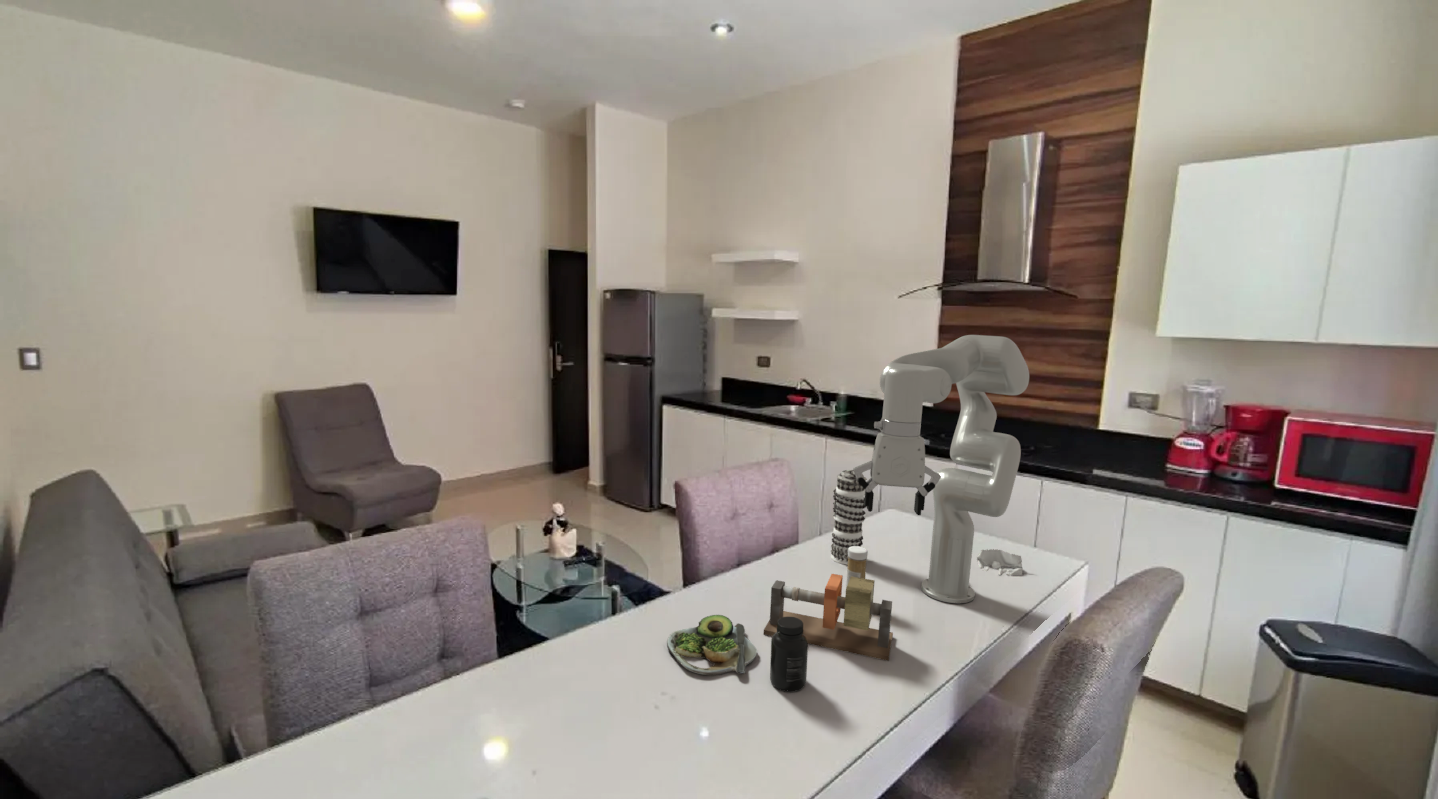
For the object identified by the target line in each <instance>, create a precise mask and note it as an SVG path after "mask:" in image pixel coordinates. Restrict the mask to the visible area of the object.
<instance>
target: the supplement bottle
mask: <svg viewBox="0 0 1438 799" xmlns="http://www.w3.org/2000/svg"><path fill="white" fill-rule="evenodd" d="M770 642H771V643H770V665H769V666H770V669H769V680H770V683H771V685H772V686H773V687H774V688H776V689H778V690H780V691H782V692H787V693H788V692H790V693H791V692H792V693H794V692H798V691H800V690H802V689H803V688H804V687H806V684H807V677H808V676H807V675H808V674H807V673H808V657H809V656H808V655H809V654H808V653H809V652H808V651H809V644H808V640H807V638H806V636H805V635H804V634H803V622H802V621H801V620H800V619H798V618H796V617H788V616H787V617H782V618H780V619H779V620H778V622H777V632H776V633H775V634H774V635H773V636H771V639H770Z"/></svg>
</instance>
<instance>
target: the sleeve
mask: <svg viewBox="0 0 1438 799" xmlns="http://www.w3.org/2000/svg"><path fill="white" fill-rule="evenodd" d="M874 592H875V579H874V580H873V579H870V578H865V579H864V578H858V577H852V576H851V577H850V580H849V582H848V585H847V588H846V587H845V596H844V597H845V609H843V610H844V613H843V623H844V625H843V626H847V627H852V628H857V629H862V630H867V631H868V629H869V628H870V624H871V620H872V618H873V615H872V614H870V607H871V602H873V603H874Z"/></svg>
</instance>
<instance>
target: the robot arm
mask: <svg viewBox="0 0 1438 799" xmlns="http://www.w3.org/2000/svg"><path fill="white" fill-rule="evenodd" d="M1024 358H1025V357H1024V356H1023V354H1022V352H1021V350H1020V349H1019V347H1018V345H1017V344H1016V343H1015V342H1014V341H1013V340H1012V339H1011V338H1009V337H1006V336H1002V335H1001V336H998V335H985V334H984V335H982V334H980V335H979V334H968V335H967V334H966V335H963V336H961V337H959V338H957V339H955V340H952V342H949V343H948V344H946V345H943V347H940V348H935V349H934V348H933V349H929V350H924V351H918V352H913V353H909V354H905V355H901V356H899V357H897V358H895V359H894V360H892V361H890V362H889V363H888V364H887V365H886V366H885V367H884V368H883V370H882V371H881V373H880V377H879V388H880V389H881V391H882V393H883V406H882V417H881V419H880V421H874V423H873V427H874V429H877V430H880V432H879V433H877V435H876V439H875V441H874V445H873V451H872V457H871V460H869V461H867V462H864V463H863V464H861V465H858V466H855V467H853V469H852V470H853V471H854V474H855V476H856V478H857V480H858V482H859V484H860V485H861V486H862V487H863V488H864V489H865V495H864V506H867V507H866V509H867V511H868V512H869V513H870V512H873V507H874V497H875V495H874V491H873V490H874V489H876V487H877V486H878V485H879V486H884V487H885V486H886V487H897V488H898V487H899V488H912V489H913V488H916V489H917V491H916V493H915V496H914V505H913V510H914V513H915V515H917V516H921V515H922V511H924V510H925V503H926V497H927V496H928V494H929V493H930V492H931V491H932V498H933V524H932V535H931V546H930V560H929V570H928V578H926V579H924V580H922V582H921V591H922V592H923V593H925V595H926V596H929V597H930V598H932V599H935V600H938V601H939V602H944V603H951V604H965V603H970V602H972V601H973V600H975V595H976V594H975V593H976V592H975V590H974V588H972V586H970V578H971V577H970V576H971V568H972V566H971V565H972V558H973V548H974V547H973V546H974V539H975V538H974V536H975V524H974V522H973V519H972V517H971V515H970V513H973V514H977V515H981V516H985V517H986V516H987V517H991V518H998V517H999V518H1000V517H1001V516H1003V515H1004V514H1005V513H1006V511H1007V509H1008V507H1009V504H1010V500H1011V497H1012V492H1013V488H1014V485H1015V482H1016V478H1017V475H1018V470H1019V466H1020V461H1021V457H1022V456H1021V452H1022V449H1021V444H1020V441H1019V440H1018V439H1017V438H1016V437H1015V436H1013V435H1011V434H1007V433H1004V432H1003V433H1002V432H998V431H997V432H995V431H994V429H995V425H996V420H997V418H998V417H997V416H998V414H997V410H996V409H995V406H994V405H993V402H992V401H991V400H990V398H989V397H988V395H987V394H986V393H989V394H997V395H1005V396H1019V395H1021V394H1022V393H1024V392H1025V391H1026V390H1027V388H1028V385H1029V383H1030V371H1029V367H1028V364H1027V362H1026V360H1025V359H1024ZM953 384H955V385H956V388H957V392H958V396H959V402H960V412H959V416H958V419H957V424H956V426H955V430H954V433H953V436H952V440H951V444H950V449H949V456H950V459H951V460H952V462H954V463H956V465H957V464H958V465H961V466H964V467H966V468H974V469H979V470H983V471H987V472H992V475H990V474H986V473H985V474H984V473H979V472H975V471H971V470H966V469H961V468H953V467H946V468H943V469H942V468H941V469H940V470H938V471H936V470H934V469H932V468H930V467H929V466H927V465H926V447H925V438H924V437H922V436H921V427H922V425H921V424H922V417H923V416H922V414H923V403H927V404H938V403H941V402H943V401H944V400H946V399H947V397H948V396H949V395H950V394H951V391H952V385H953ZM869 470H870V472H869V473H870V474H869V475H870V478H869V479H867V480H866V481H865V480H864V478H863V477H862V474H863V473H864V472H866V471H869ZM925 475H928V476H929V477H930V480H929V481H927V482H926V483H925V484H924V482H925Z"/></svg>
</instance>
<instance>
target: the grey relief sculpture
mask: <svg viewBox="0 0 1438 799" xmlns="http://www.w3.org/2000/svg"><path fill="white" fill-rule="evenodd" d="M976 560H977V561H976V562H977V565H978V568H979V569H982V571H985V572H988V571H989V570H990V569H991V568H992V569H994V570H998V576H1001V575H1002V574H1004V573H1005V572H1007V573H1006V576H1008V577H1009V576H1011V577H1012V576H1023V574H1024V573H1023V564H1022V563H1023V559H1022V555H1019V554H1015V553H1014V554H1013V553H1010V552H1007V551H1004V550H1002V549H994V548H993V549H988V548H987V549H981V550H980V553H979V554H978V555H977V556H976ZM984 566H985V567H984ZM1003 567H1006V568H1003ZM984 568H985V569H984ZM1008 568H1011V569H1008Z"/></svg>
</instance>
